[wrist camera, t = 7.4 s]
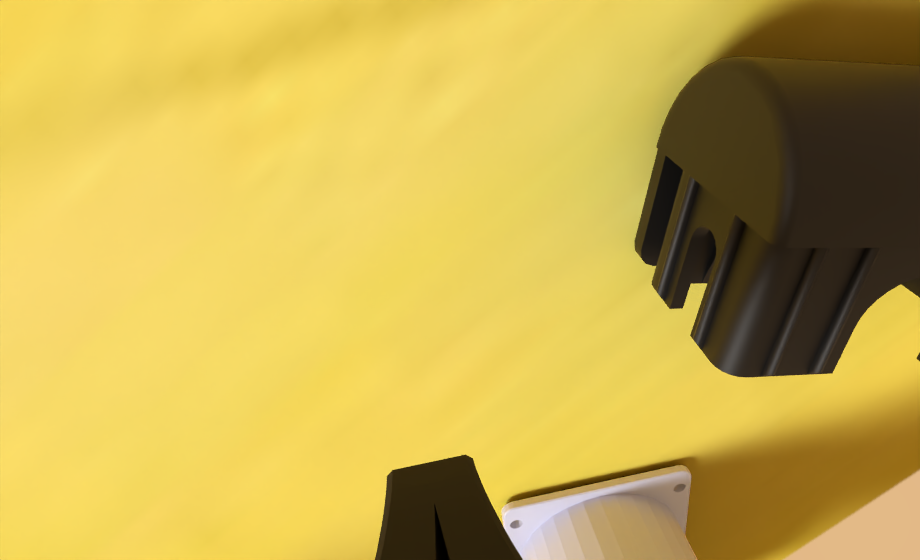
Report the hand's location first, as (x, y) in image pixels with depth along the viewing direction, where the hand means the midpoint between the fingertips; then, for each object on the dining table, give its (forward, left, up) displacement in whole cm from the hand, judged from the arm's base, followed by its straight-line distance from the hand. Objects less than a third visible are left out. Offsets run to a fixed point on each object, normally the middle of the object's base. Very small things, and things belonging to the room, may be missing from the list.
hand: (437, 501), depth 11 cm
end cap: (0, -12, -10) cm, 16 cm away
